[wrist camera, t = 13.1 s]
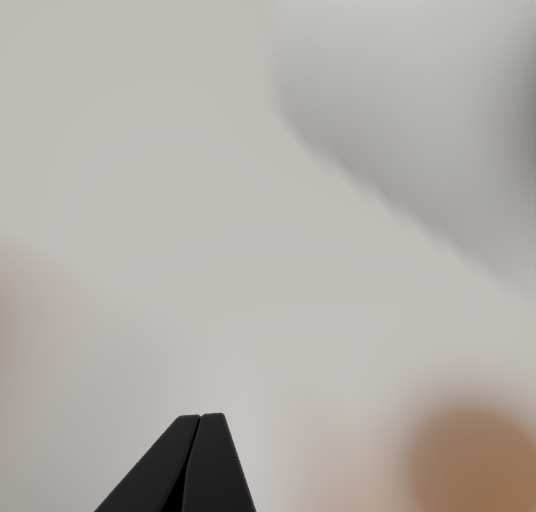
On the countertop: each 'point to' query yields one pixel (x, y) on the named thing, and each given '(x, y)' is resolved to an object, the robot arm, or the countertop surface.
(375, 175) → the countertop surface
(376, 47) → the countertop surface
